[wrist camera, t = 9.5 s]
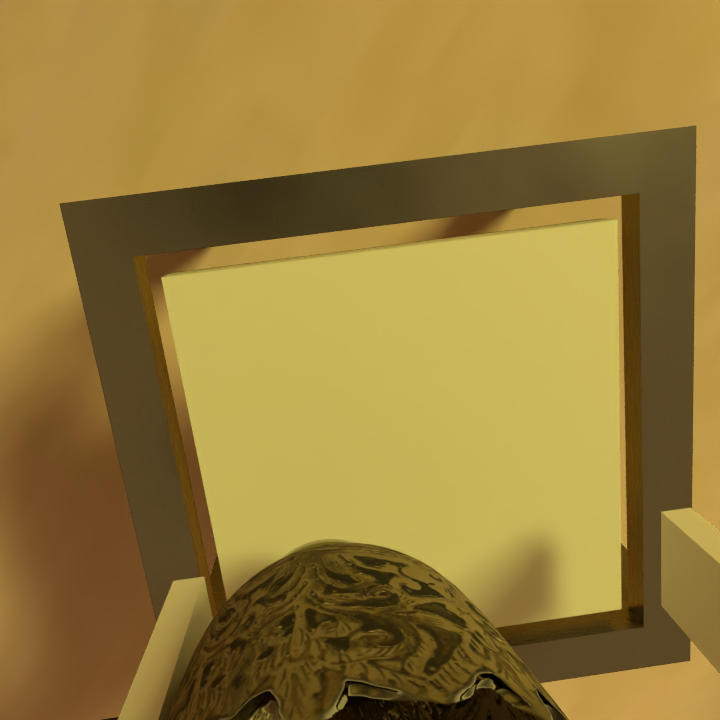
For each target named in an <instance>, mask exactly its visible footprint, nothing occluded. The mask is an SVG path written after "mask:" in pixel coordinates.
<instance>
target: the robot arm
mask: <svg viewBox="0 0 720 720" xmlns="http://www.w3.org/2000/svg"><path fill="white" fill-rule="evenodd" d="M661 606H662V607H663V608H664V609H665V610H666V612H667V613H668V614H669V615H670V616H671V617H672V619H673V620H674V621H675V622H676V623H677V624H678V626H679V627H680V628H681V629H682V630H683V631H684V633H685V634H686V635H687V636H688V637H689V638H690V640H691V641H692V642H693V643H694V644H695V645H696V646H697V648H698V649H699V650H700V651H701V652H702V653H703V655H704V656H705V657H706V658H707V659H708V660H709V662H710V663H711V664H712V665H713V666H714V667H715V669H716V670H717V671H718V672H719V673H720V531H719V530H718V529H716V528H715V527H714V526H713V525H712V524H710V523H709V522H708V521H707V520H705V519H704V518H703V517H702V516H700V515H699V514H698V513H697V512H695V511H694V510H693V509H692V508H684V509H677V510H670V511H663V512H661ZM212 619H213V617H212V613H211V608H210V603H209V598H208V593H207V588H206V584H205V579H204V577H197V578H190V579H183V580H176V581H173V583H172V585H171V588H170V590H169V593H168V595H167V598H166V600H165V603H164V605H163V608H162V610H161V613H160V615H159V618H158V620H157V623H156V625H155V628H154V630H153V633H152V635H151V638H150V640H149V643H148V645H147V648H146V650H145V653H144V655H143V658H142V660H141V663H140V665H139V668H138V670H137V673H136V675H135V678H134V680H133V683H132V685H131V688H130V690H129V693H128V695H127V698H126V700H125V703H124V705H123V708H122V710H121V713H120V715H119V717H116V718H110V719H103V720H167V718H168V715H169V712H170V709H171V706H172V704H173V701H174V698H175V696H176V693H177V690H178V688H179V685H180V683H181V680H182V678H183V675H184V673H185V671H186V668H187V666H188V664H189V661H190V659H191V657H192V655H193V653H194V650H195V648H196V647H197V645H198V643H199V641H200V639H201V638H202V636H203V634H204V632H205V631H206V629H207V627H208V626H209V624H210V622H211V621H212Z"/></svg>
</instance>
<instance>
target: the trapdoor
mask: <svg viewBox="0 0 720 720" xmlns="http://www.w3.org/2000/svg"><path fill="white" fill-rule="evenodd" d="M161 279H162V284H163V289H164V294H165V299H166V304H167V309H168V314H169V319H170V323H171V328H172V333H173V338H174V343H175V348H176V353H177V358H178V363H179V368H180V373H181V377H182V382H183V387H184V392H185V397H186V402H187V407H188V412H189V417H190V422H191V427H192V431H193V436H194V441H195V446H196V451H197V456H198V461H199V466H200V471H201V476H202V481H203V485H204V490H205V495H206V500H207V505H208V510H209V515H210V520H211V525H212V530H213V535H214V539H215V544H216V549H217V554H218V559H219V564H220V569H221V574H222V579H223V584H224V589H225V593H226V598H227V600H228V599H229V598H230V597H231V596H232V595H233V594H234V593H235V592H236V591H237V590H238V589H239V588H240V587H241V586H242V585H243V584H244V583H246V582H247V581H248V580H249V579H250V578H251V577H253V576H254V575H255V574H257V573H258V572H260V571H261V570H262V569H264V568H265V567H267V566H269V565H271V564H272V563H274V562H276V561H278V560H280V559H281V558H282V557H283V556H284V555H286V554H287V553H289V552H290V551H291V550H293V549H295V548H297V547H299V546H301V545H303V544H306V543H309V542H312V541H316V540H322V539H341V540H346V541H351V542H354V543H363V544H372V545H377V546H382V547H386V548H390V549H393V550H396V551H399V552H401V553H404V554H406V555H409V556H411V557H413V558H415V559H418V560H420V561H422V562H423V563H425V564H427V565H428V566H430V567H432V568H433V569H435V570H436V571H437V572H438V573H440V574H441V575H442V576H444V577H445V578H446V579H447V580H449V581H450V582H451V583H453V584H454V585H455V586H456V587H457V588H458V589H459V590H460V591H461V592H462V593H463V594H464V595H465V596H466V597H467V598H468V599H469V600H470V601H471V602H472V603H473V604H474V605H475V606H476V607H477V608H478V609H479V610H480V611H481V612H482V613H483V614H484V615H485V616H486V618H487V619H488V620H489V621H490V622H491V623H492V624H493V626H494V627H495V628H497V627H504V626H510V625H517V624H524V623H531V622H538V621H545V620H551V619H558V618H565V617H572V616H579V615H585V614H592V613H599V612H606V611H613V610H620V609H622V603H621V506H620V408H619V310H618V220H614V219H594V220H586V221H578V222H570V223H562V224H554V225H546V226H539V227H531V228H523V229H515V230H507V231H499V232H491V233H483V234H475V235H467V236H460V237H452V238H444V239H436V240H428V241H420V242H412V243H404V244H396V245H388V246H381V247H373V248H365V249H357V250H349V251H341V252H333V253H325V254H317V255H309V256H302V257H294V258H286V259H278V260H270V261H262V262H254V263H246V264H238V265H230V266H223V267H215V268H207V269H199V270H191V271H183V272H175V273H170V274H167V275H165V276H163V277H161Z"/></svg>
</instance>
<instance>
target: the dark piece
mask: <svg viewBox="0 0 720 720" xmlns="http://www.w3.org/2000/svg"><path fill="white" fill-rule="evenodd" d="M167 720H568V718H567V717H566V716H565V714H564V713H563V712H562V711H561V709H560V708H559V707H558V705H557V704H556V703H555V702H554V700H553V699H552V698H551V696H550V695H549V694H548V693H547V691H546V690H545V689H544V687H543V686H542V685H541V684H540V682H539V681H538V680H537V679H536V677H535V676H534V675H533V674H532V672H531V671H530V670H529V669H528V667H527V666H526V665H525V664H524V662H523V661H522V660H521V659H520V657H519V656H518V655H517V654H516V652H515V651H514V650H513V649H512V647H511V646H510V645H509V644H508V643H507V641H506V640H505V639H504V638H503V636H502V635H501V634H500V633H499V632H498V630H497V629H496V628H495V627H494V626H493V624H492V623H491V622H490V621H489V620H488V619H487V618H486V616H485V615H484V614H483V613H482V612H481V611H480V610H479V609H478V608H477V607H476V606H475V605H474V604H473V603H472V602H471V601H470V600H469V599H468V598H467V597H466V596H465V595H464V594H463V593H462V592H461V591H460V590H459V589H458V588H457V587H456V586H455V585H454V584H453V583H451V582H450V581H449V580H447V579H446V578H445V577H444V576H442V575H441V574H440V573H438V572H437V571H436V570H435V569H433V568H432V567H430V566H428V565H427V564H425V563H423V562H422V561H420V560H418V559H415V558H413V557H411V556H409V555H406V554H404V553H401V552H399V551H396V550H393V549H390V548H386V547H382V546H377V545H372V544H363V543H354V542H351V541H346V540H341V539H322V540H316V541H312V542H309V543H306V544H303V545H301V546H299V547H297V548H295V549H293V550H291V551H290V552H289V553H287V554H286V555H284V556H283V557H282V558H281V559H280V560H278V561H276V562H274V563H272V564H271V565H269V566H267V567H265V568H264V569H262V570H261V571H260V572H258V573H257V574H255V575H254V576H253V577H251V578H250V579H249V580H248V581H247V582H246V583H244V584H243V585H242V586H241V587H240V588H239V589H238V590H237V591H236V592H235V593H234V594H233V595H232V596H231V597H230V598H229V599H228V600H227V601H226V603H225V604H224V605H223V606H222V607H221V608H220V610H219V611H218V612H217V614H216V615H215V617H214V618H213V619H212V621H211V622H210V624H209V626H208V627H207V629H206V631H205V632H204V634H203V636H202V638H201V639H200V641H199V643H198V645H197V647H196V648H195V650H194V653H193V655H192V657H191V659H190V661H189V664H188V666H187V668H186V671H185V673H184V675H183V678H182V680H181V683H180V685H179V688H178V690H177V693H176V696H175V698H174V701H173V704H172V706H171V709H170V712H169V715H168V718H167Z"/></svg>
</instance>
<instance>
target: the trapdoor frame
mask: <svg viewBox="0 0 720 720" xmlns="http://www.w3.org/2000/svg"><path fill="white" fill-rule="evenodd" d="M695 194H696V126H689V127H681V128H673V129H665V130H657V131H648V132H640V133H632V134H624V135H616V136H608V137H599V138H591V139H583V140H575V141H567V142H559V143H550V144H542V145H534V146H526V147H518V148H510V149H501V150H493V151H485V152H477V153H469V154H461V155H452V156H444V157H436V158H428V159H420V160H412V161H403V162H395V163H387V164H379V165H371V166H363V167H354V168H346V169H338V170H330V171H322V172H314V173H305V174H297V175H289V176H281V177H273V178H264V179H256V180H248V181H240V182H232V183H224V184H215V185H207V186H199V187H191V188H183V189H175V190H166V191H158V192H150V193H142V194H134V195H126V196H117V197H109V198H101V199H93V200H85V201H77V202H68V203H60V208H61V212H62V217H63V221H64V225H65V229H66V234H67V238H68V242H69V247H70V251H71V255H72V260H73V264H74V268H75V273H76V277H77V281H78V285H79V290H80V294H81V298H82V303H83V307H84V311H85V316H86V320H87V324H88V329H89V333H90V337H91V341H92V346H93V350H94V354H95V359H96V363H97V367H98V372H99V376H100V380H101V385H102V389H103V393H104V397H105V402H106V406H107V410H108V415H109V419H110V423H111V428H112V432H113V436H114V441H115V445H116V449H117V453H118V458H119V462H120V466H121V471H122V475H123V479H124V484H125V488H126V492H127V497H128V501H129V505H130V509H131V514H132V518H133V522H134V527H135V531H136V535H137V540H138V544H139V548H140V553H141V557H142V561H143V565H144V570H145V574H146V578H147V583H148V587H149V591H150V596H151V600H152V604H153V609H154V613H155V617H156V621H157V620H158V618H159V615H160V613H161V610H162V608H163V605H164V603H165V600H166V598H167V595H168V593H169V590H170V588H171V585H172V583H173V581H176V580H183V579H190V578H197V577H204V579H205V584H206V588H207V593H208V598H209V603H210V608H211V613H212V617H213V618H214V617H215V615H216V614H217V612H218V611H219V610H220V608H221V607H222V606H223V605H224V604H225V603H226V601H227V598H226V593H225V589H224V584H223V579H222V574H221V569H220V564H219V559H218V554H217V557H216V560H215V563H214V567H213V570H212V573H211V576H209V571H208V566H207V561H206V557H205V552H204V547H203V542H202V537H201V532H200V527H199V522H198V517H197V512H196V507H195V503H194V498H193V493H192V488H191V483H190V478H189V473H188V468H187V463H186V458H185V454H184V449H183V444H182V439H181V434H180V429H179V424H178V419H177V414H176V409H175V404H174V400H173V395H172V390H171V385H170V380H169V375H168V370H167V365H166V360H165V355H164V350H163V346H162V341H161V336H160V331H159V326H158V321H157V316H156V311H155V306H154V301H153V296H152V292H151V287H150V282H149V277H148V272H147V267H146V262H145V257H144V255H151V254H159V253H167V252H175V251H183V250H190V249H198V248H206V247H214V246H222V245H230V244H238V243H246V242H254V241H262V240H270V239H278V238H286V237H294V236H302V235H310V234H318V233H326V232H334V231H342V230H350V229H358V228H366V227H374V226H382V225H390V224H398V223H406V222H414V221H422V220H429V219H437V218H445V217H453V216H461V215H469V214H477V213H485V212H493V211H501V210H509V209H517V208H525V207H533V206H541V205H549V204H557V203H565V202H573V201H581V200H589V199H597V198H605V197H613V196H621V199H622V259H623V318H624V378H625V438H626V497H627V549H626V548H625V547H624V546H623V545H622V544H621V603H622V609H620V610H613V611H606V612H599V613H592V614H585V615H579V616H572V617H565V618H558V619H551V620H545V621H538V622H531V623H524V624H517V625H510V626H504V627H497V628H496V629H497V630H498V632H499V633H500V634H501V635H502V636H503V638H504V639H505V640H506V641H507V643H508V644H509V645H510V646H511V647H512V649H513V650H514V651H515V652H516V654H517V655H518V656H519V657H520V659H521V660H522V661H523V662H524V664H525V665H526V666H527V667H528V669H529V670H530V671H531V672H532V674H533V675H534V676H535V677H536V679H537V680H538V681H539V682H540V683H544V682H551V681H558V680H564V679H571V678H578V677H584V676H591V675H598V674H604V673H611V672H618V671H624V670H631V669H638V668H644V667H651V666H658V665H664V664H671V663H678V662H684V661H690V638H689V637H688V636H687V635H686V634H685V633H684V631H683V630H682V629H681V628H680V627H679V626H678V624H677V623H676V622H675V621H674V620H673V619H672V617H671V616H670V615H669V614H668V613H667V612H666V610H665V609H664V608H663V607H662V606H661V512H663V511H670V510H677V509H684V508H692V454H693V367H694V281H695Z"/></svg>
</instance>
